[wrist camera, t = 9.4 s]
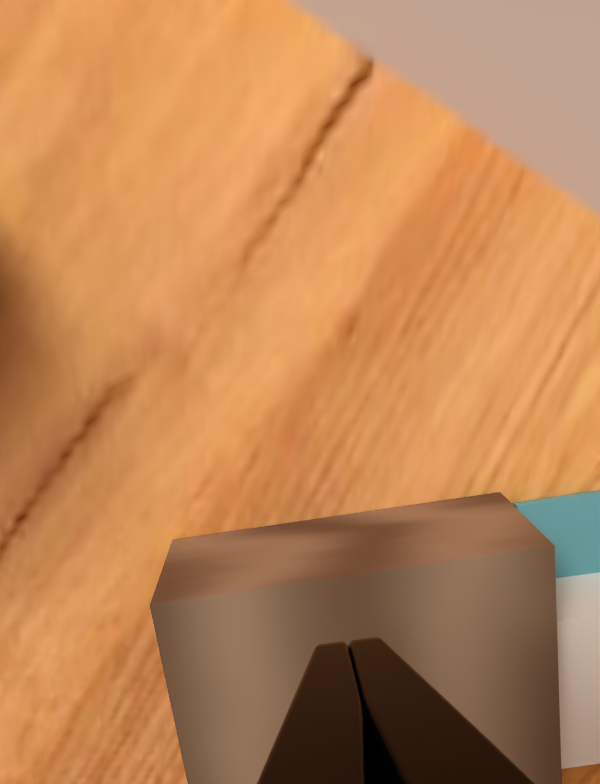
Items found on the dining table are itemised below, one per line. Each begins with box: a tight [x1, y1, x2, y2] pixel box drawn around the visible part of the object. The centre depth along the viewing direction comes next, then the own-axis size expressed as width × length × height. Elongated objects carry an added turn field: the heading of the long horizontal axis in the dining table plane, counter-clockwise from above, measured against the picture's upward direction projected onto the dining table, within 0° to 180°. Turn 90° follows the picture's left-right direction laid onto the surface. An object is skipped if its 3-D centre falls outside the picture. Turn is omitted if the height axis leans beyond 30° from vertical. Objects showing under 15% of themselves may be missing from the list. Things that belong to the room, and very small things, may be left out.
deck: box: [150, 492, 562, 784], centre depth 20 cm, size 12×12×4 cm
